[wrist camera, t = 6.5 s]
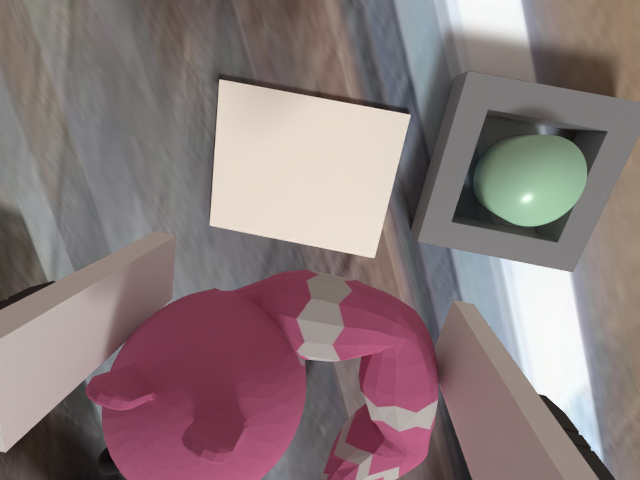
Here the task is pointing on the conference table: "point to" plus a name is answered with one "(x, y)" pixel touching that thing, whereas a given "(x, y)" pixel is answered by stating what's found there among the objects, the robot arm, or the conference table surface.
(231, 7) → the conference table surface
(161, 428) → the toy
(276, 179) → the paper sheet
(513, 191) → the button
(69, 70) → the conference table surface
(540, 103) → the button housing
